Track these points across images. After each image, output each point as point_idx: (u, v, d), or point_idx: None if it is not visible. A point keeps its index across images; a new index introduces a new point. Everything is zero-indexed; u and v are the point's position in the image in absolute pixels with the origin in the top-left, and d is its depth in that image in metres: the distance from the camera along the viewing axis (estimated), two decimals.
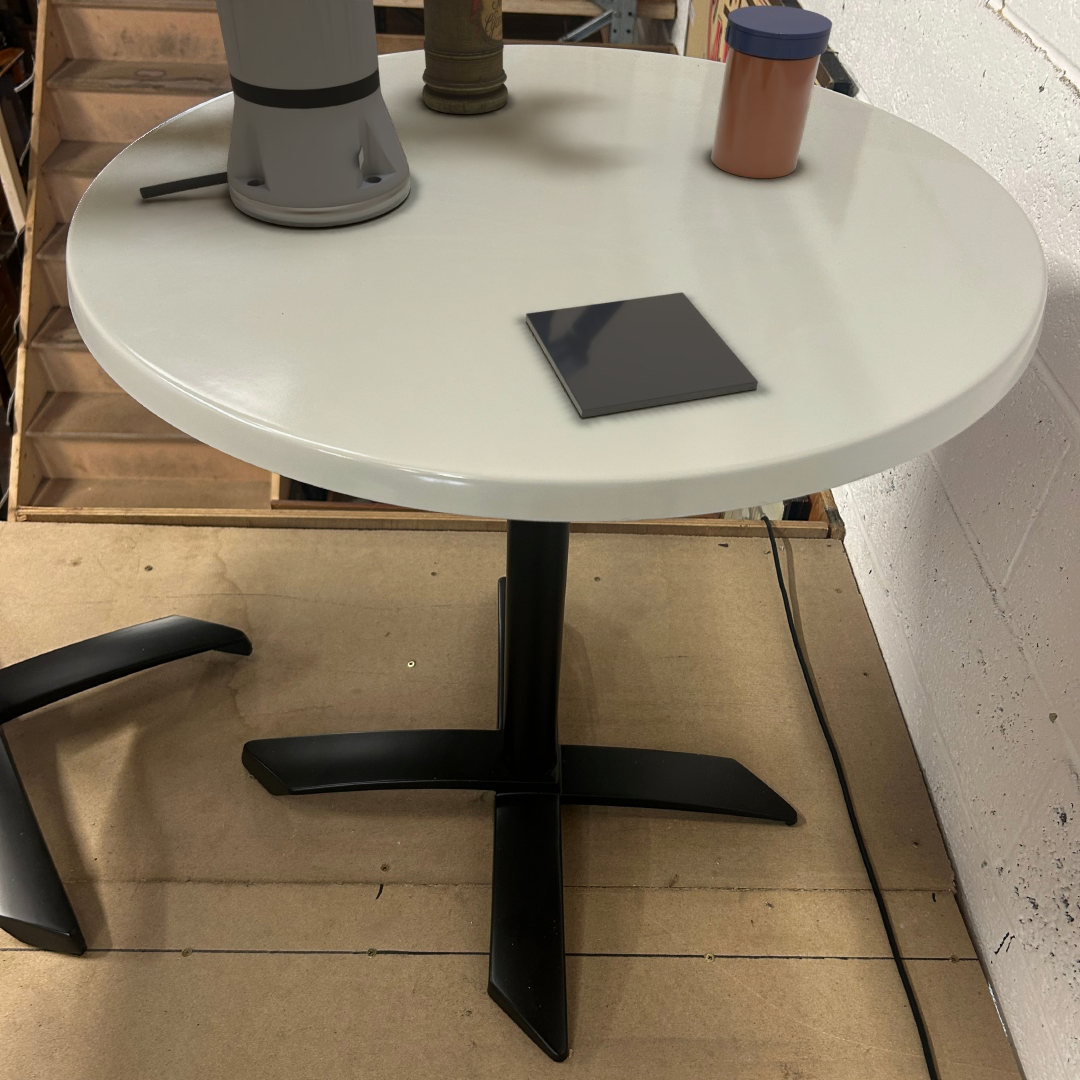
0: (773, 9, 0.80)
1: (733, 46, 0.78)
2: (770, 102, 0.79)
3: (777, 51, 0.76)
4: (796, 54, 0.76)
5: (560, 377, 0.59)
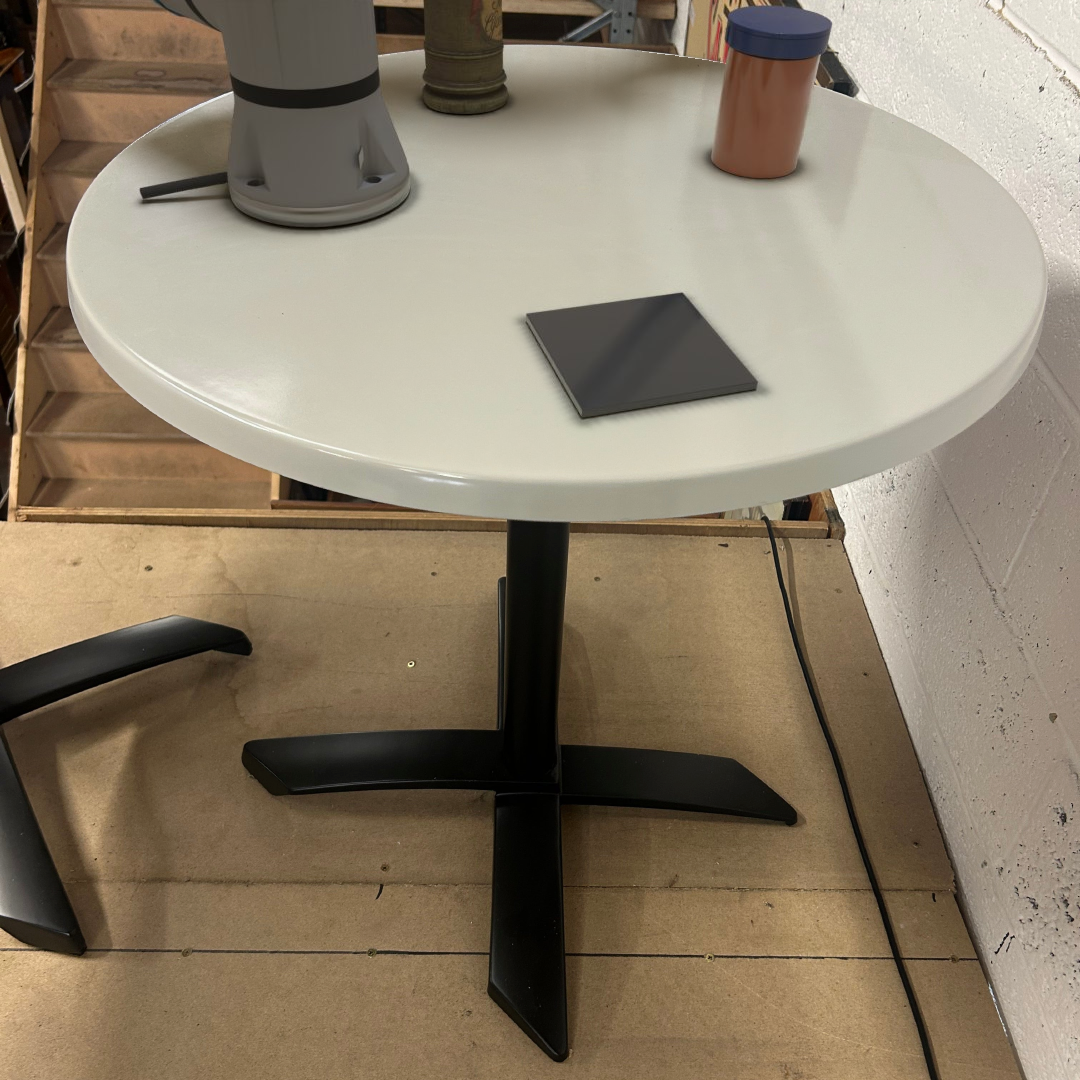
0: (773, 9, 0.80)
1: (733, 46, 0.78)
2: (770, 102, 0.79)
3: (777, 51, 0.76)
4: (796, 54, 0.76)
5: (560, 377, 0.59)
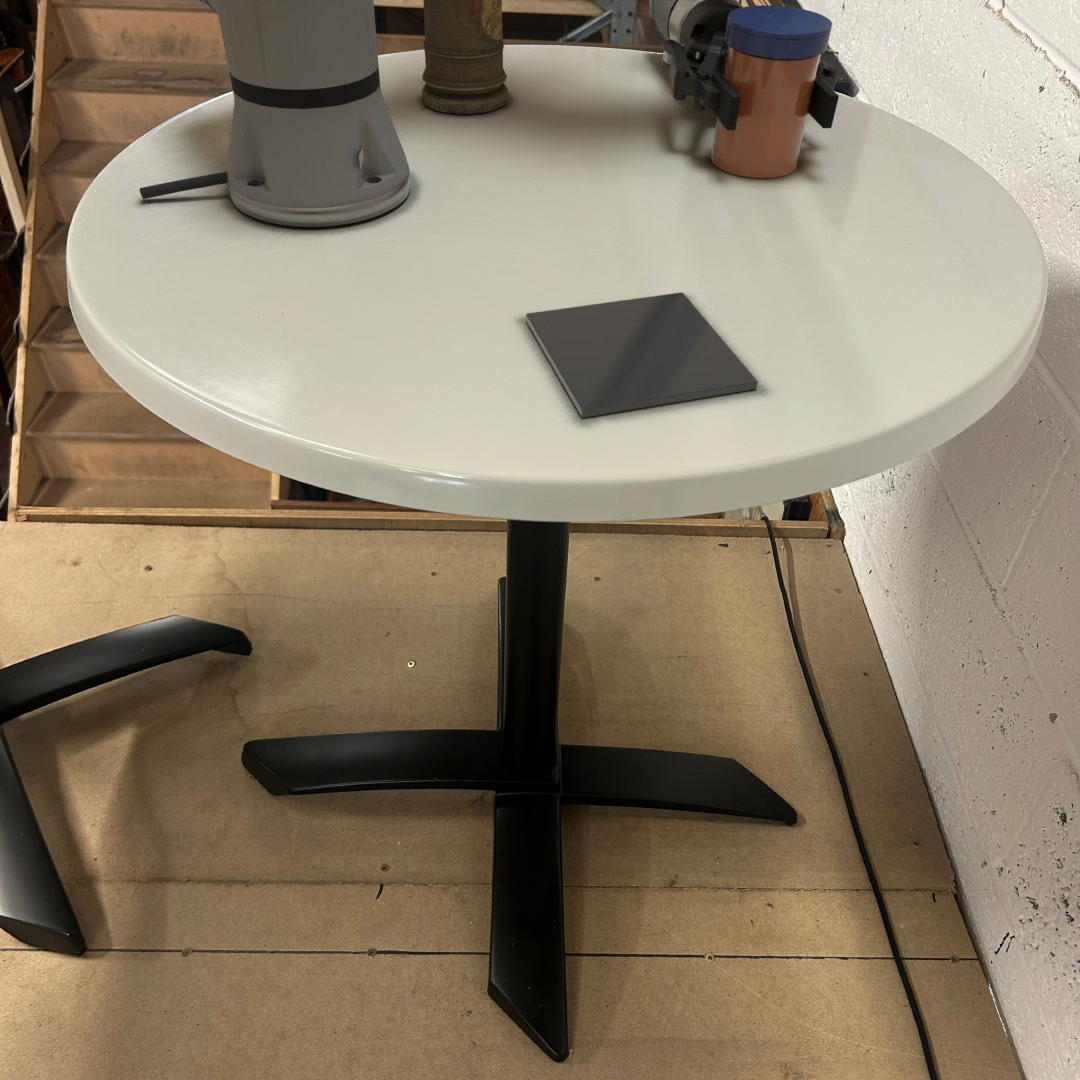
0: (773, 9, 0.80)
1: (733, 46, 0.78)
2: (770, 102, 0.79)
3: (777, 51, 0.76)
4: (796, 54, 0.76)
5: (560, 377, 0.59)
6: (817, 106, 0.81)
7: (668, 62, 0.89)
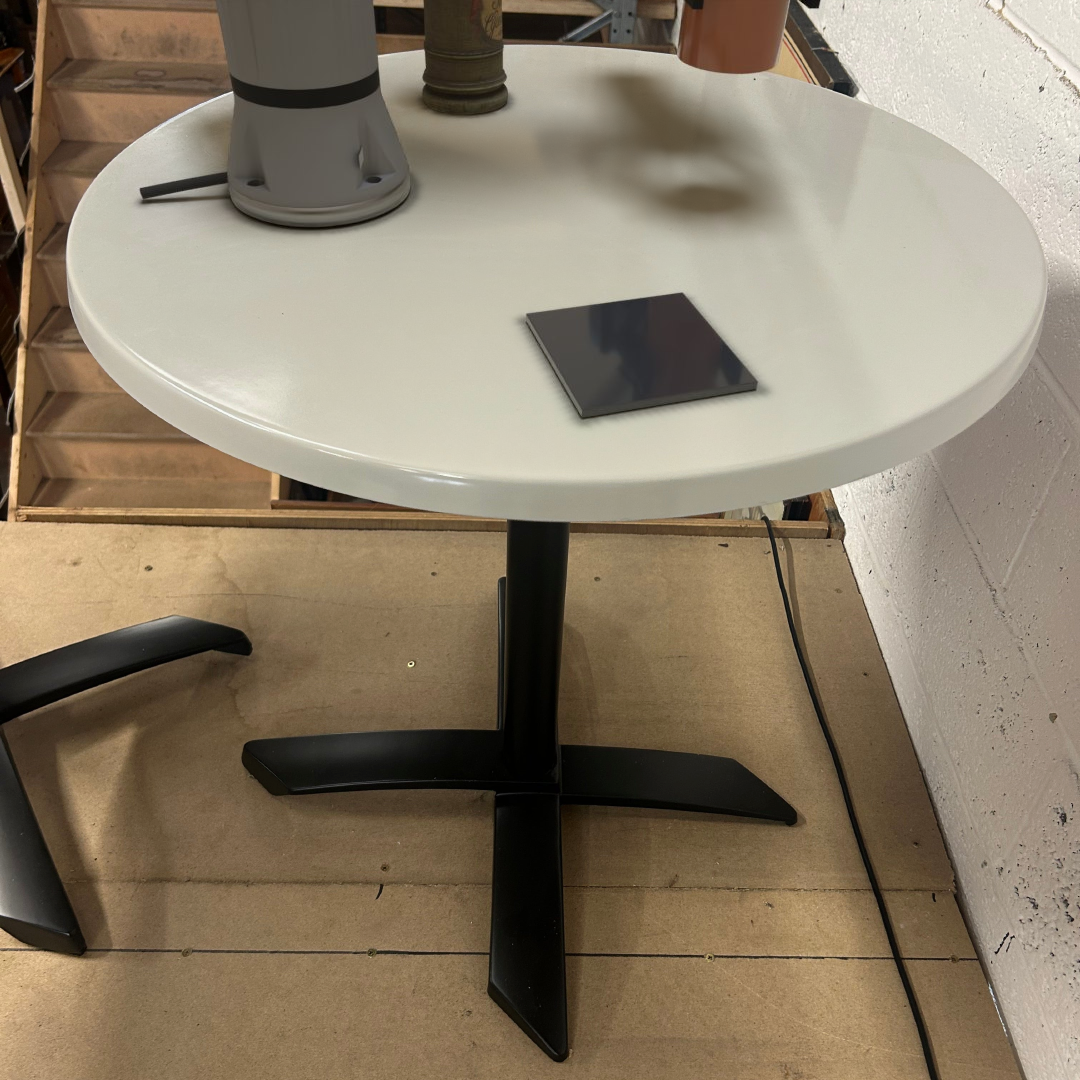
0: None
1: None
2: None
3: None
4: None
5: (560, 377, 0.59)
6: None
7: None
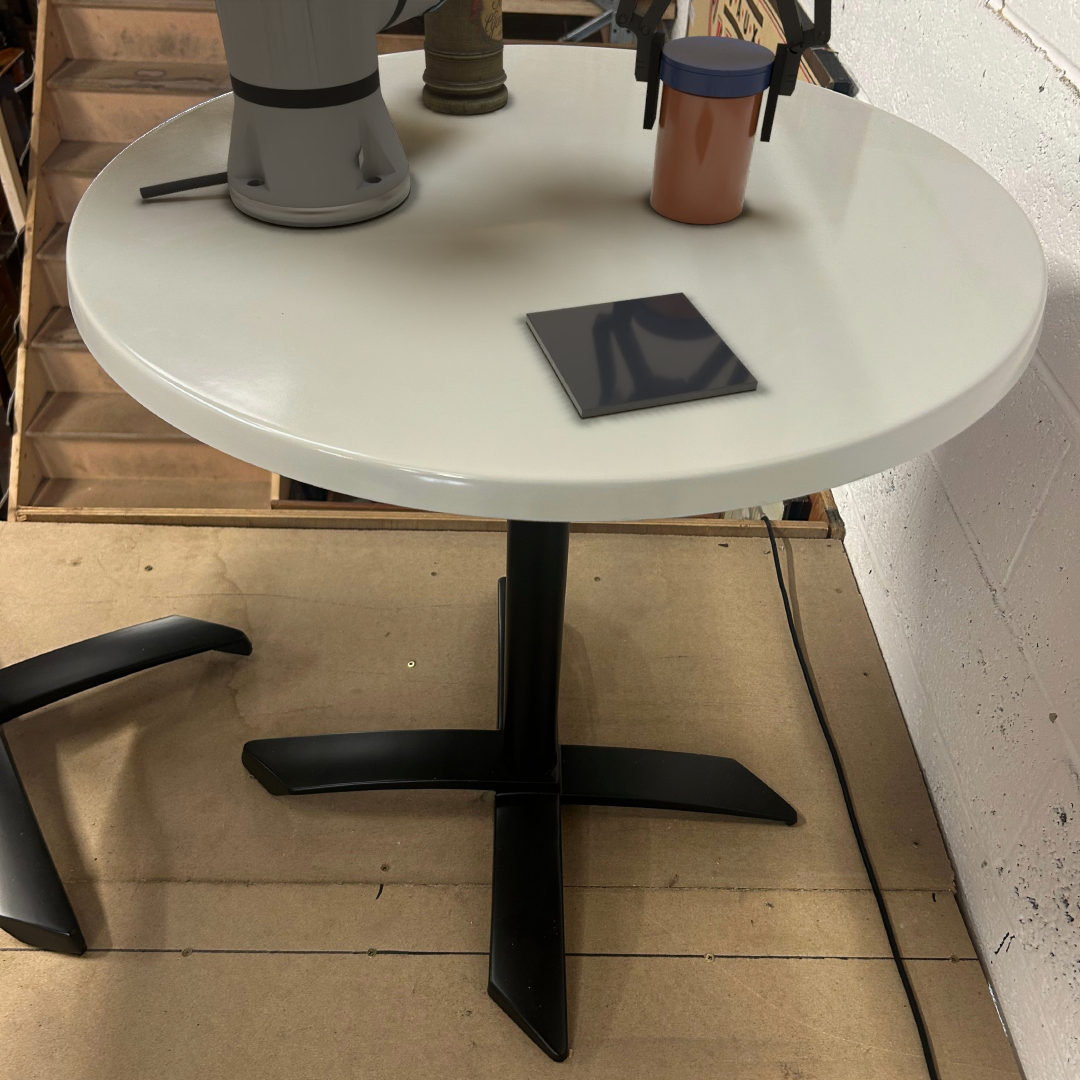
0: (712, 40, 0.73)
1: (666, 82, 0.71)
2: (708, 143, 0.72)
3: (713, 89, 0.69)
4: (734, 92, 0.69)
5: (560, 377, 0.59)
6: (656, 97, 0.74)
7: None
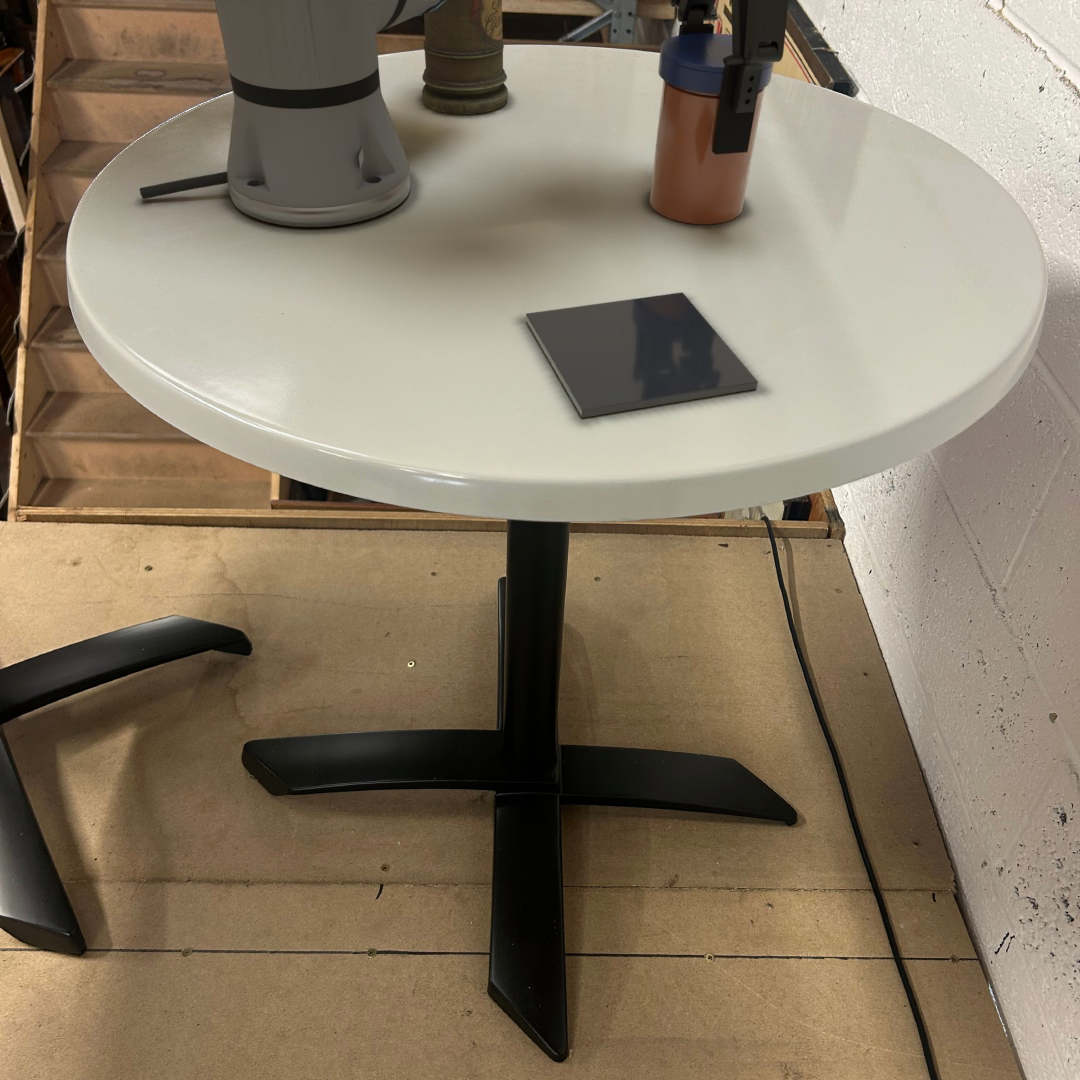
0: (684, 53, 0.70)
1: (763, 86, 0.70)
2: (708, 143, 0.72)
3: None
4: None
5: (560, 377, 0.59)
6: None
7: None
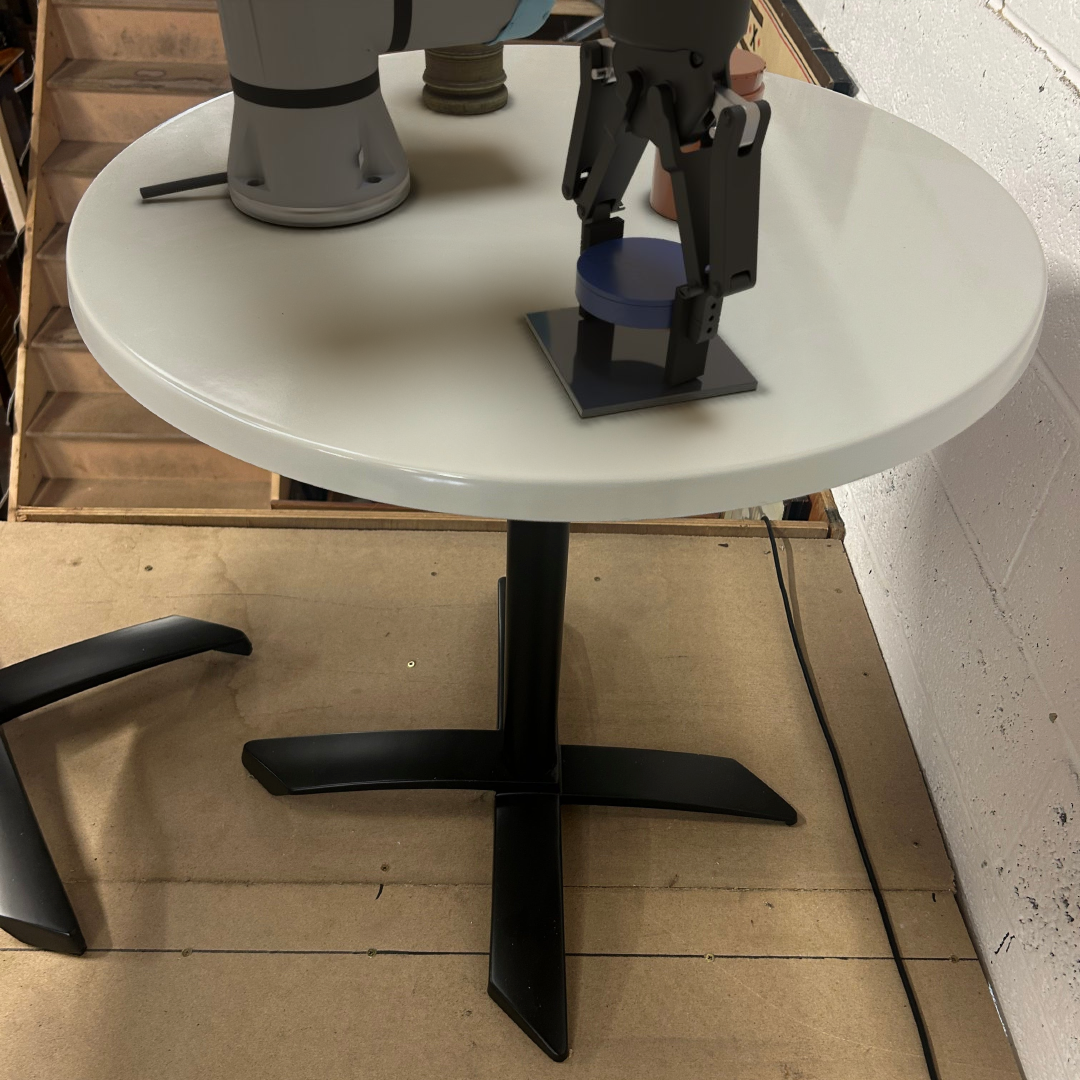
0: (614, 282, 0.56)
1: None
2: None
3: None
4: None
5: (560, 377, 0.59)
6: None
7: None
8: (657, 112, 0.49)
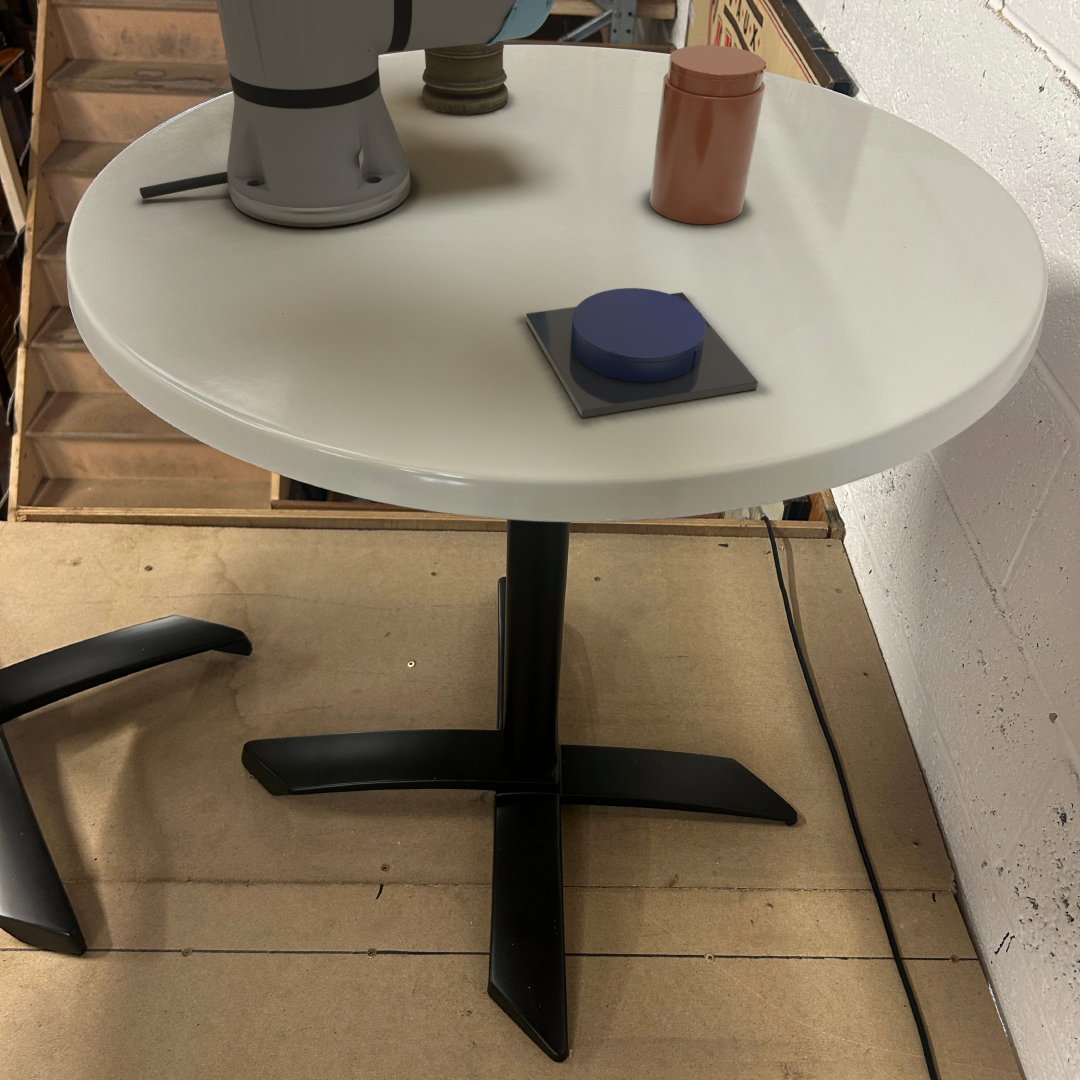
0: (607, 337, 0.58)
1: (700, 357, 0.60)
2: (708, 143, 0.72)
3: None
4: None
5: (560, 377, 0.59)
6: None
7: None
8: None
